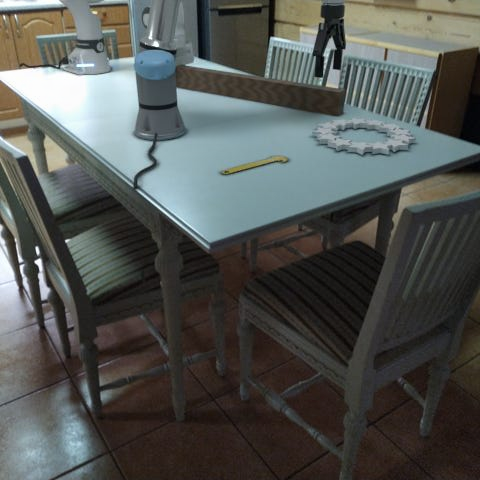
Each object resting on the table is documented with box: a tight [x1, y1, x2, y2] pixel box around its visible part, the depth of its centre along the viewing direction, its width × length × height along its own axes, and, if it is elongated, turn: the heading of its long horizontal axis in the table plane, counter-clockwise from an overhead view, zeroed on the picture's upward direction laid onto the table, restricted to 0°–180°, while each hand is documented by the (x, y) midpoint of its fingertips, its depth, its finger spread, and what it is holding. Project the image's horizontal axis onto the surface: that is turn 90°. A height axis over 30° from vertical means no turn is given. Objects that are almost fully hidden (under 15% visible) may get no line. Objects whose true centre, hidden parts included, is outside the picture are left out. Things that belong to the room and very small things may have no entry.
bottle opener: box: [221, 155, 288, 175], centre depth 136 cm, size 5×1×20 cm
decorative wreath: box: [311, 117, 417, 156], centre depth 155 cm, size 30×2×30 cm
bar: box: [175, 64, 346, 117], centre depth 194 cm, size 79×4×8 cm, turn 56°
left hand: (176, 78), depth 211 cm, fingers closed on bar, 4 cm apart
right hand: (328, 73), depth 173 cm, fingers open, 13 cm apart
